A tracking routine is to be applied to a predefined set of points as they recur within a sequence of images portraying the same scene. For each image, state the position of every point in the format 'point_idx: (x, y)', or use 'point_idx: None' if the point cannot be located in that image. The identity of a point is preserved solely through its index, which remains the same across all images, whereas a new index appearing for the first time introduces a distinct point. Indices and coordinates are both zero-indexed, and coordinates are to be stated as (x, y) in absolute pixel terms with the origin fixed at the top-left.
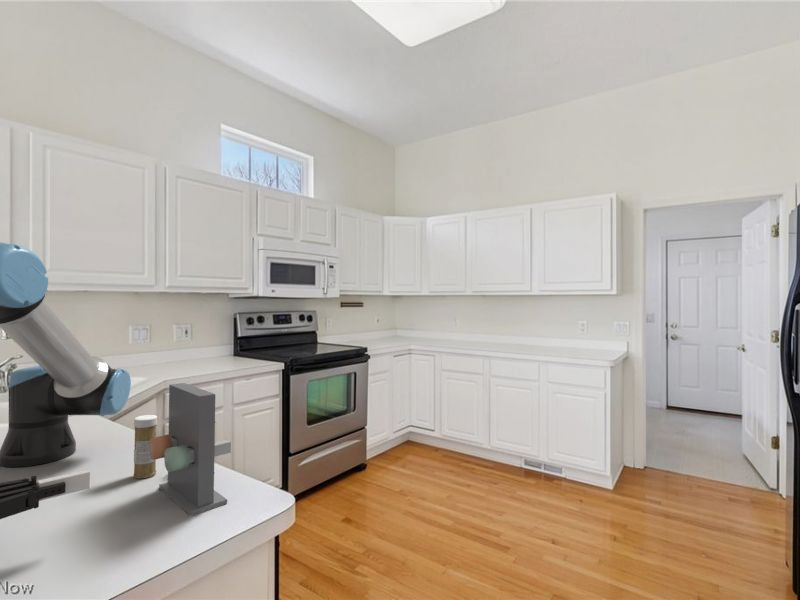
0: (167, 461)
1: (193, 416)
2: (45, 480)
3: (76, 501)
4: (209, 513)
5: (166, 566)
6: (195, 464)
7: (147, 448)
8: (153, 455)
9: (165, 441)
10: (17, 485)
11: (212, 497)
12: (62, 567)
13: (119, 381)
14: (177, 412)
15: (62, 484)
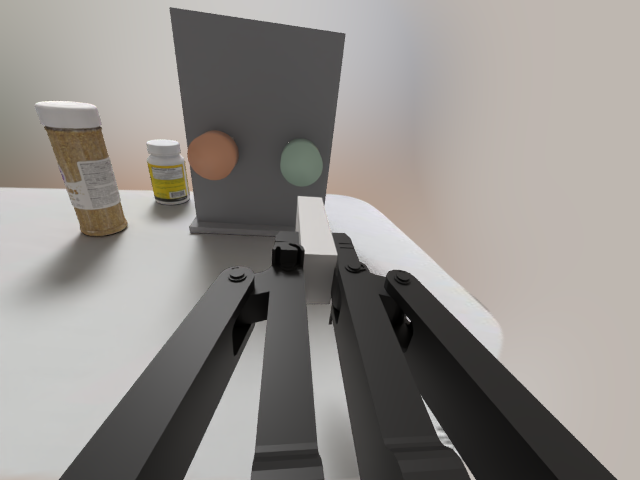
0: (296, 169)
1: (313, 81)
2: (316, 243)
3: (69, 311)
4: (333, 229)
5: (451, 282)
6: None
7: (109, 174)
8: (219, 171)
9: (231, 141)
10: (291, 295)
11: None
12: None
13: None
14: (230, 80)
15: (347, 237)
